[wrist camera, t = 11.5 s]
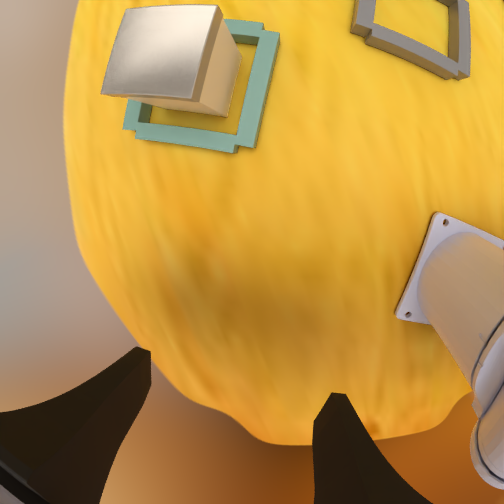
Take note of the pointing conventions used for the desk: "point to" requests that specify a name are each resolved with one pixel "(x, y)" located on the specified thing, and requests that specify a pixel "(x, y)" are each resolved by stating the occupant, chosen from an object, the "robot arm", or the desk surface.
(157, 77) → the plug
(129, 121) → the socket
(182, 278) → the desk surface
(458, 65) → the socket
